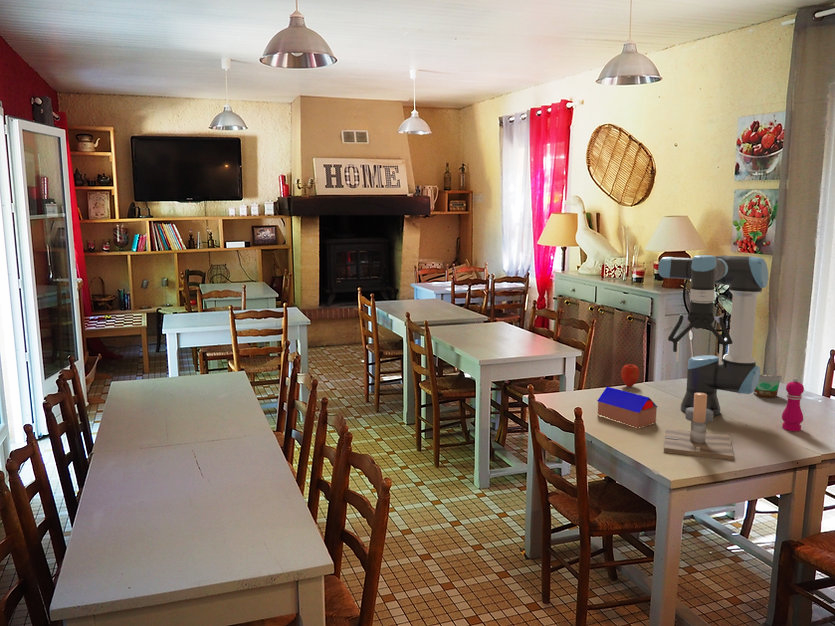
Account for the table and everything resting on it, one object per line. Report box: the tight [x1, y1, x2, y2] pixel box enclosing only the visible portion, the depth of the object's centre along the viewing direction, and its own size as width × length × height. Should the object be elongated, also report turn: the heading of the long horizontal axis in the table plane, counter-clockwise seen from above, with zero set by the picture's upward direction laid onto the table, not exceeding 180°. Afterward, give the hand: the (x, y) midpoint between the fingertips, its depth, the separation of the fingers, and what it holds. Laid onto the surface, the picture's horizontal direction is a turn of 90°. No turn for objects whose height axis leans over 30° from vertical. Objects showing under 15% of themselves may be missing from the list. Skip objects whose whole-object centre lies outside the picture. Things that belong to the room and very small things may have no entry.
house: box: [596, 386, 658, 429], centre depth 271 cm, size 12×20×12 cm, turn 36°
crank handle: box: [684, 393, 714, 426], centre depth 237 cm, size 16×9×12 cm, turn 157°
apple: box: [620, 363, 640, 388], centre depth 320 cm, size 9×8×11 cm
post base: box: [663, 421, 735, 461], centre depth 242 cm, size 22×22×10 cm
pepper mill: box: [781, 377, 805, 432], centre depth 259 cm, size 7×7×20 cm
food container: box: [752, 373, 783, 399], centre depth 302 cm, size 12×6×10 cm, turn 73°
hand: (698, 362), depth 234 cm, fingers open, 13 cm apart
